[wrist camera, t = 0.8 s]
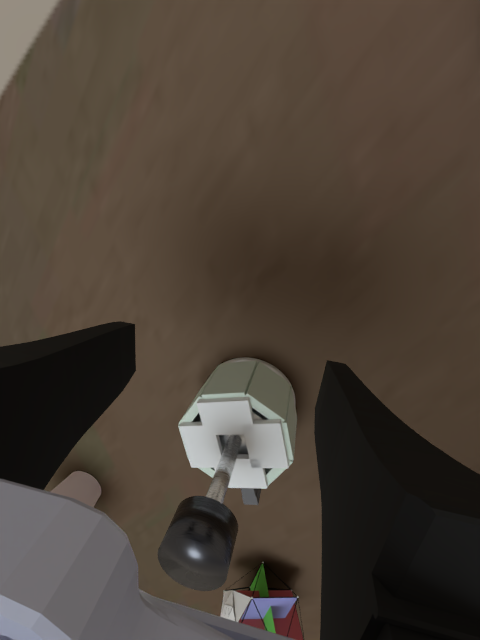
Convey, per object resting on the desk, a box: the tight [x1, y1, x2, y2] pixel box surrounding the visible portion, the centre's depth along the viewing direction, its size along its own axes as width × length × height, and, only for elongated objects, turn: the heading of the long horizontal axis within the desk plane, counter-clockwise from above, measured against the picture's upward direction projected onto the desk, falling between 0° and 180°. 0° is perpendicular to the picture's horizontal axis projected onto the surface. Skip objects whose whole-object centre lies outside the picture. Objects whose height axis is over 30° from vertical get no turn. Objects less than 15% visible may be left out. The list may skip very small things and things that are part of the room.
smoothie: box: [51, 471, 101, 507], centre depth 26 cm, size 6×6×14 cm
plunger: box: [158, 410, 265, 591], centre depth 17 cm, size 5×5×8 cm
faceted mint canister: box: [178, 357, 297, 505], centre depth 22 cm, size 9×7×5 cm
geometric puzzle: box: [220, 561, 304, 640], centre depth 28 cm, size 7×7×8 cm
